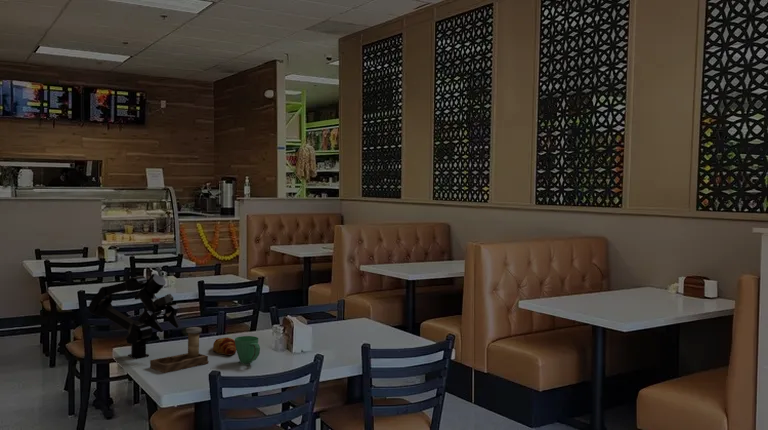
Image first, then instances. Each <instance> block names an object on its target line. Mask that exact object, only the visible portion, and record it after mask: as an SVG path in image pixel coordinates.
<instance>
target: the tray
mask: <svg viewBox="0 0 768 430" xmlns="http://www.w3.org/2000/svg"><path fill="white" fill-rule="evenodd" d="M207 364H209V356H208V355H206V354H201V353H199V357H194V358H190V359H188V352H187V353H181V354H178V355H177V354H176V355H172V356H165V357H159V358H155V359H150V360H149V365H150V366H149V367H150V369H153V370H156V371H159V372H160V373H164V374H168V373H171V372H177V371H181V369H182V370H184V369H190V368H195V367H199V366H203V365H204V366H205V365H207Z"/></svg>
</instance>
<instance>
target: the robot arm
mask: <svg viewBox="0 0 768 430" xmlns="http://www.w3.org/2000/svg"><path fill="white" fill-rule="evenodd" d="M165 285H166V279H165V278H163V277H162V276H161V275H158V274H157V273H152V274H151V275H150V277H149V278H146V277H145V276H144V275H141V276H134V277H130V278H128V279H126V280H125V281H123V282H119V283H116V284H113V285H112V284H111V285H107V286H101V287H100V288H99V290H98V292H97V293H96V294H95V295H94V297H93V298H92V299H91V301H90V303H89V305H88V311H89V312H90V314H92V315H93V316H96V317H97V316H98V317H102V318H103V317H104V318H106V319H108V320H110V321H111V322H113V323H114V324H116V325H118V326H120V327H121V328H122V329H124V330H127V332H128V334H129V335H128V336H127V337H125V338H126V339H125V340H126V344H130V345H131V349H130V350H131V351H130V353H129V354H127V357H130V358H133V359H140V358H145V357H149V356H150V354H148V353H147V341H148V342H149V341H150V340H151V339H152V335H153V329H154V330H156V331H159V332H160V333H163V331H164V329H163V327H162V326H161V324H160V322H159V321H158V318H157V317H159V316H160V317H161V316H164V318H165V320H167V322H169V323H170V324H171V325H172V326H173V327H174V328H176V329H177V328H179V326H180V325H179V322H178V319H177V313H178V311H179V309H180V307H179V305H178V304H175V303H174V304H172V303H173V302H174V297H173V295H172V294H171V293H167V294H166V295H164V296H162V297H157V296H156V295H157V294H158V293H159V292H160V291H161V290H162V289H163V287H164V286H165ZM125 291H127V292H135V296H134V300H136V301H137V300H140V301H141V303H142V304H143V305H144V307H143V309H144V311H143V312H142V313H141V315H139V316H138V320H134V319H132V318H130V317H129V316H127V315H125V314H123V313H122V312H120V311H118V310H117V309H115V308H114V307H113V303H112V302H113V294H116V293H117V294H118V293H122V292H125ZM136 291H138V292H136ZM104 297H105V298H104ZM170 304H171V305H170ZM167 305H168V306H167Z"/></svg>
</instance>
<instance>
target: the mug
mask: <svg viewBox="0 0 768 430" xmlns="http://www.w3.org/2000/svg"><path fill="white" fill-rule="evenodd" d="M234 340H235V345H236V353H237V357H238V360H239V363H240V364H245V365H246V364H251V363H253V362H255V361H256V360H257V359H258V357H259V355H260V353H261V352H260V351H261V347H260V344H259V337H257V336H253V335H242V336H238V337H235V338H234Z"/></svg>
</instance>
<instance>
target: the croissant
mask: <svg viewBox="0 0 768 430" xmlns="http://www.w3.org/2000/svg"><path fill="white" fill-rule="evenodd" d="M212 346H213V347H212V351H213V352H216V354H221V355H224V356H225V355H226V356H232V355H235V354H236V353H237V350H236V345H235V339H233V338H231V337H219V338H216V339H215V341H214V342H213V345H212Z"/></svg>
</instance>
